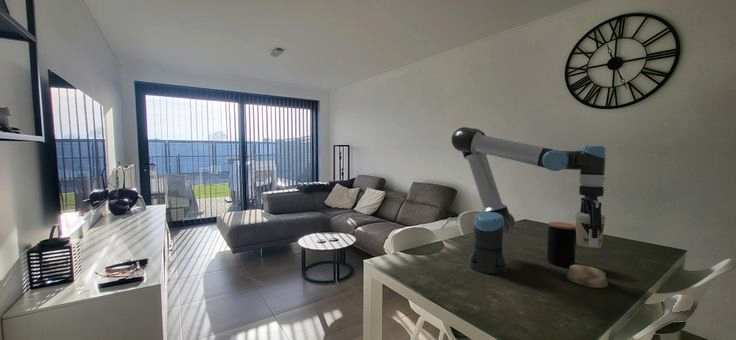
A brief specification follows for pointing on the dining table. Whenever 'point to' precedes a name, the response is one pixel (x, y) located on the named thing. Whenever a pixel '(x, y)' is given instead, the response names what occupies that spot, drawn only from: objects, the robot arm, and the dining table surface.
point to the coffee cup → (587, 230)
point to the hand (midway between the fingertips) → (588, 242)
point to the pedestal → (587, 276)
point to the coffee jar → (561, 244)
